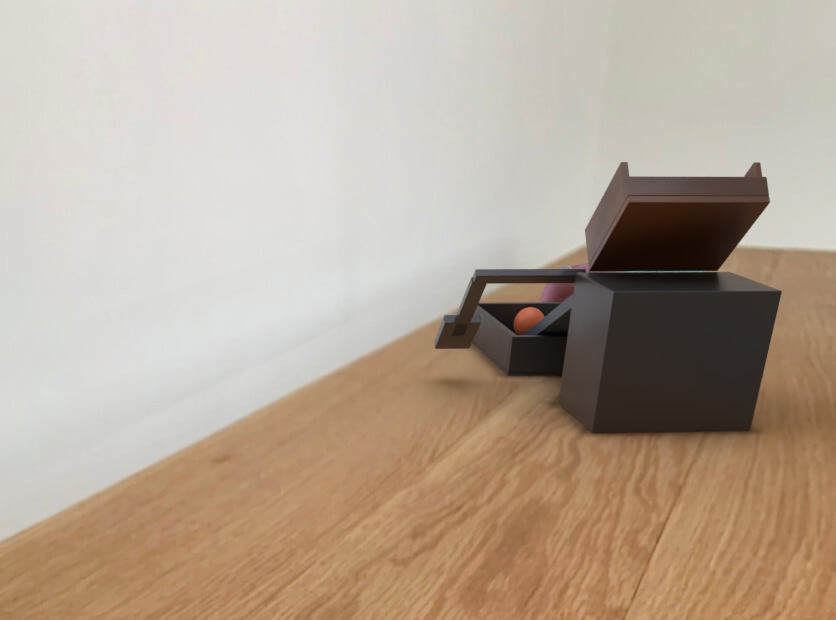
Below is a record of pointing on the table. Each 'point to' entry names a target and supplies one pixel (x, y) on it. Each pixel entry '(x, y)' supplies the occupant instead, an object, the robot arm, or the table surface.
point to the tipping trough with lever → (639, 235)
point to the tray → (518, 340)
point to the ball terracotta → (527, 320)
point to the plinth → (666, 351)
